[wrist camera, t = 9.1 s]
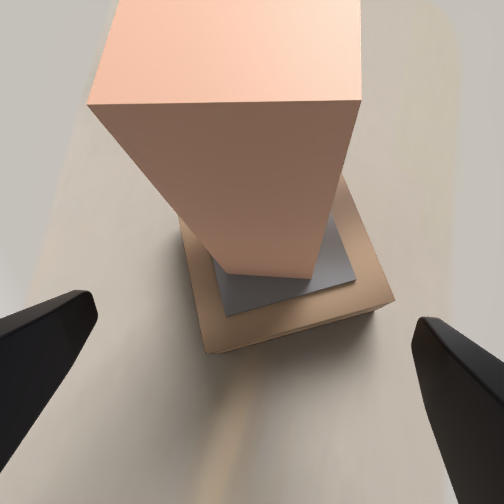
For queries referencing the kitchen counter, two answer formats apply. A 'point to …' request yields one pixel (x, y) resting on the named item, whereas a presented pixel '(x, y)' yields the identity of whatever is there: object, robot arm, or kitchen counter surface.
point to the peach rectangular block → (237, 118)
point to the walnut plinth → (289, 286)
